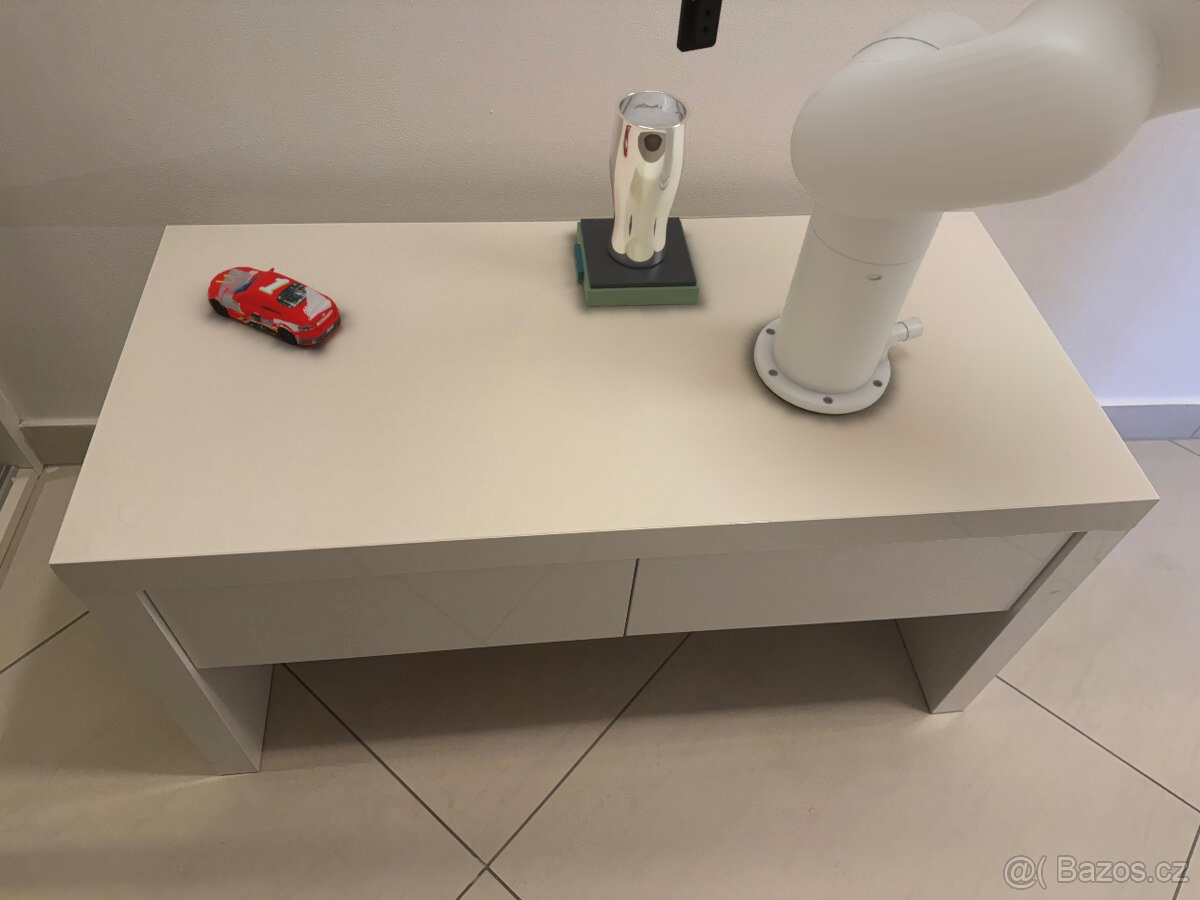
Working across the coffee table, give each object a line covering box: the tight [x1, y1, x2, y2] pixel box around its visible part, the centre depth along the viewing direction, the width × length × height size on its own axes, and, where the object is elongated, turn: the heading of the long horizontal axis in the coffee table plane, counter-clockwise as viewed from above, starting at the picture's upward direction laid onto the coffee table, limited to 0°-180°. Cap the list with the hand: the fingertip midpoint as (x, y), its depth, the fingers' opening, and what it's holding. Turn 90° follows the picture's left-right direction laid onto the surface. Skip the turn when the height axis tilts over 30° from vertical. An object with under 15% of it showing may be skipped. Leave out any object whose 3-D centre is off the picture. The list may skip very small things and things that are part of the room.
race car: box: [207, 266, 342, 346], centre depth 79 cm, size 13×5×4 cm, turn 63°
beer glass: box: [607, 89, 691, 268], centre depth 80 cm, size 7×7×15 cm
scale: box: [573, 216, 700, 307], centre depth 87 cm, size 12×11×3 cm
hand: (665, 20), depth 68 cm, fingers open, 9 cm apart
